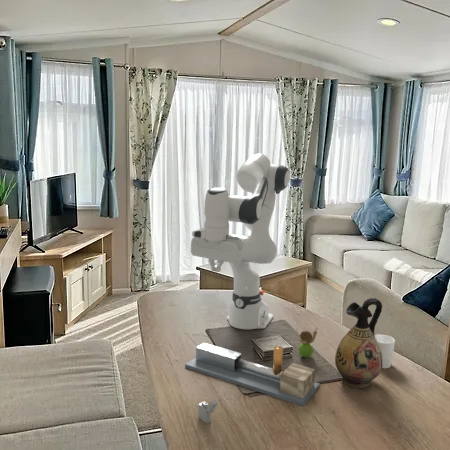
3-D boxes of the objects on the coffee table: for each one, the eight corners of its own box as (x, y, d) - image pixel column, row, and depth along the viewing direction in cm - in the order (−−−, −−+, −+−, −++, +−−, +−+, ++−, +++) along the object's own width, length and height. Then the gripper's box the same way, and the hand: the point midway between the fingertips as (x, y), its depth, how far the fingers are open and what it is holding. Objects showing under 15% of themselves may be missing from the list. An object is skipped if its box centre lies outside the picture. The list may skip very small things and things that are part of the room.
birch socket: (291, 379, 167) (292, 363, 166) (314, 385, 163) (314, 369, 162) (280, 390, 159) (280, 374, 158) (303, 398, 155) (304, 381, 154)
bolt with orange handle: (234, 363, 175) (235, 333, 173) (295, 382, 163) (297, 350, 161) (229, 367, 172) (230, 337, 170) (291, 386, 160) (293, 354, 158)
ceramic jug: (348, 396, 159) (354, 308, 153) (326, 373, 174) (331, 292, 168) (394, 389, 164) (402, 303, 158) (369, 368, 178) (375, 288, 172)
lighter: (198, 417, 146) (198, 392, 145) (202, 415, 147) (203, 390, 146) (212, 428, 141) (212, 403, 139) (217, 426, 142) (217, 401, 140)
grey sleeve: (203, 355, 183) (203, 342, 182) (241, 366, 175) (241, 353, 174) (196, 360, 179) (196, 347, 178) (233, 372, 171) (234, 359, 170)
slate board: (207, 352, 188) (207, 349, 188) (319, 386, 165) (319, 383, 164) (185, 367, 176) (185, 364, 176) (302, 406, 153) (302, 402, 153)
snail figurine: (315, 361, 183) (317, 330, 180) (297, 359, 184) (299, 329, 181) (315, 354, 188) (317, 325, 185) (298, 352, 189) (300, 323, 187)
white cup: (392, 361, 184) (395, 336, 182) (392, 371, 176) (394, 344, 174) (370, 357, 186) (372, 332, 184) (369, 367, 179) (371, 341, 177)
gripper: (246, 235, 173) (245, 273, 176) (198, 228, 183) (198, 264, 186) (237, 239, 168) (236, 278, 170) (188, 231, 178) (188, 268, 181)
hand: (215, 271), depth 178 cm, fingers closed
